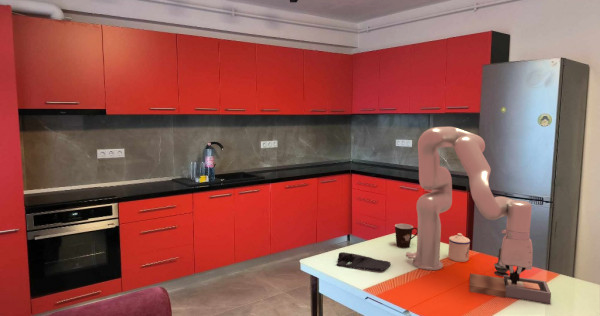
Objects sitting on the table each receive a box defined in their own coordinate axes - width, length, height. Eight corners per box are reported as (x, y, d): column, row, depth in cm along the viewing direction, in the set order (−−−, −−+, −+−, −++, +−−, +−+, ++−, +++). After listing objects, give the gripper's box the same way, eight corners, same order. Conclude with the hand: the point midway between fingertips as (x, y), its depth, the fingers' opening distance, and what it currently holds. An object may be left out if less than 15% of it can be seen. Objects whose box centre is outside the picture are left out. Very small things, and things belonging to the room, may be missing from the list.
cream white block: (508, 292, 150) (509, 284, 150) (506, 287, 155) (507, 279, 155) (523, 294, 149) (524, 287, 148) (521, 289, 153) (522, 281, 153)
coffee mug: (394, 248, 198) (395, 228, 197) (393, 242, 207) (394, 223, 206) (419, 249, 197) (420, 229, 195) (417, 243, 205) (418, 224, 204)
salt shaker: (511, 277, 165) (513, 248, 164) (495, 276, 166) (497, 247, 165) (506, 271, 171) (508, 244, 170) (491, 270, 172) (493, 243, 171)
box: (505, 297, 148) (506, 286, 148) (503, 285, 158) (503, 275, 158) (550, 304, 143) (551, 293, 142) (544, 291, 153) (545, 281, 152)
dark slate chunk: (382, 276, 166) (382, 265, 166) (333, 266, 177) (333, 255, 176) (393, 264, 180) (393, 254, 179) (346, 255, 190) (347, 245, 190)
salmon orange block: (524, 295, 149) (524, 287, 148) (521, 289, 153) (522, 281, 153) (539, 297, 147) (540, 289, 147) (536, 291, 152) (537, 283, 151)
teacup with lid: (470, 263, 180) (472, 237, 179) (448, 261, 182) (450, 235, 181) (466, 253, 192) (468, 229, 190) (446, 251, 194) (447, 228, 193)
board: (469, 291, 152) (470, 285, 152) (469, 279, 163) (470, 273, 163) (505, 297, 148) (506, 291, 147) (503, 284, 159) (503, 278, 158)
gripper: (495, 235, 149) (492, 283, 151) (542, 240, 143) (538, 290, 145) (494, 229, 156) (491, 275, 158) (539, 234, 150) (535, 282, 152)
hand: (514, 282), depth 152 cm, fingers closed
